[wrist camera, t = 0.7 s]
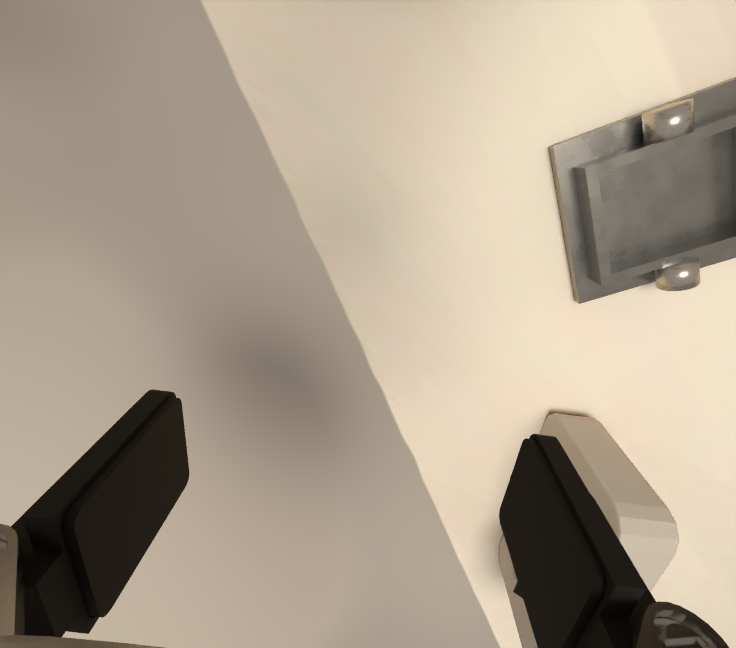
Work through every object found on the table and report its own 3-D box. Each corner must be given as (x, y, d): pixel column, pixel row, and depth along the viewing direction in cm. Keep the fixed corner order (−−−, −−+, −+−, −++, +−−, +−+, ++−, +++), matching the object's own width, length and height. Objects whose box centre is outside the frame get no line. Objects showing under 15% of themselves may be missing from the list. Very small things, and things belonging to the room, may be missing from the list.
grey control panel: (532, 402, 50) (602, 523, 34) (591, 409, 50) (689, 533, 34) (481, 550, 62) (515, 695, 45) (529, 556, 62) (580, 703, 45)
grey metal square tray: (548, 146, 38) (569, 145, 34) (752, 71, 35) (804, 59, 31) (574, 300, 44) (595, 316, 40) (749, 247, 41) (793, 258, 37)
